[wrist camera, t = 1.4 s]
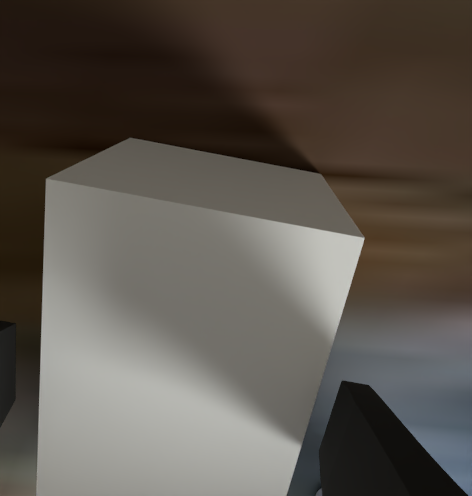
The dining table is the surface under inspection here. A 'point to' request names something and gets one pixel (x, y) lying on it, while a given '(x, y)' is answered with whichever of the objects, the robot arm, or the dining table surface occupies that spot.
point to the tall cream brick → (185, 321)
